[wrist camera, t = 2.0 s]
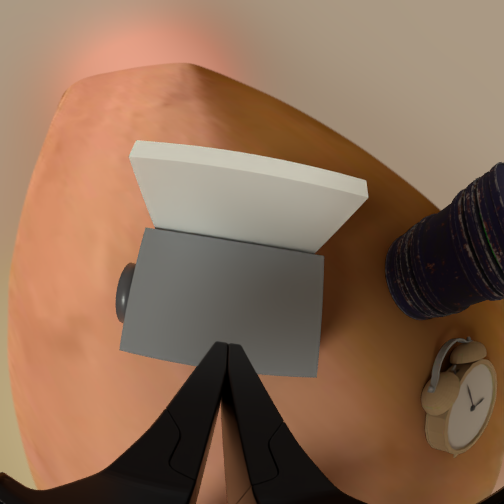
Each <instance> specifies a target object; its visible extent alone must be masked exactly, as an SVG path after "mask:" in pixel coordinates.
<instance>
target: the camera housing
mask: <svg viewBox="0 0 504 504" xmlns="http://www.w3.org/2000/svg"><path fill="white" fill-rule="evenodd" d="M323 281H324V256H321V255H315V254H309V253H303V252H297V251H291V250H285V249H279V248H272V247H266V246H260V245H254V244H248V243H241V242H235V241H229V240H223V239H216V238H210V237H203V236H197V235H191V234H184V233H178V232H171V231H165V230H158V229H152V228H145V232H144V235H143V239H142V243H141V246H140V250H139V254H138V258H137V262H136V264H134V263H129V264H127V266H126V267H125V268H124V270H123V272H122V274H121V276H120V279H119V283H118V287H117V293H116V313H117V317H118V319H119V321H120V322H122V323H124V324H123V330H122V336H121V343H120V349H119V350H121V351H125V352H129V353H133V354H138V355H142V356H146V357H151V358H155V359H160V360H165V361H170V362H175V363H181V364H186V365H192V366H198V364H199V363H200V362H201V360H202V359H203V357H204V356H205V355H206V353H207V352H208V351H209V349H210V348H211V346H212V345H213V344H214V342H216V341H220V342H226V343H228V344H229V343H235V344H240V345H241V346H242V347H243V349H244V351H245V353H246V355H247V357H248V358H249V360H250V362H251V364H252V366H253V368H254V369H255V371H256V373H257V374H263V375H275V376H291V377H316V378H317V369H318V358H319V347H320V334H321V320H322V303H323Z"/></svg>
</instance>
